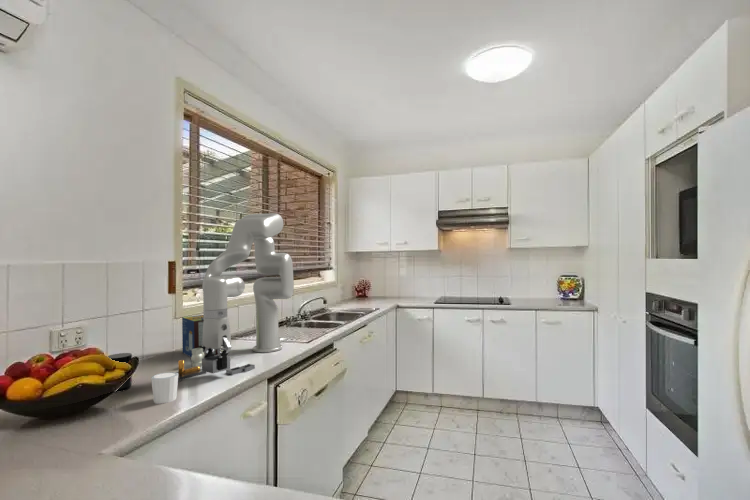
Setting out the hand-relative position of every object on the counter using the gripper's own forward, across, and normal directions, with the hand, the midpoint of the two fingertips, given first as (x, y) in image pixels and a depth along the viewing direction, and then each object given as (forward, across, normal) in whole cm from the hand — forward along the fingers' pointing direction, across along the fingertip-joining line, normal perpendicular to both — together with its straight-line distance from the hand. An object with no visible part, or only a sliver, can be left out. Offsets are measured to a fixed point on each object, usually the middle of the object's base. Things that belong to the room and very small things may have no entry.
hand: (216, 367), depth 132 cm
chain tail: (+3, -1, -8) cm, 9 cm away
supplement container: (+4, +15, +24) cm, 28 cm away
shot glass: (+4, -7, +21) cm, 22 cm away
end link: (+1, 0, 0) cm, 1 cm away
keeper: (+3, +11, +5) cm, 12 cm away
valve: (+4, +21, -7) cm, 23 cm away
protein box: (+4, +37, -16) cm, 41 cm away
